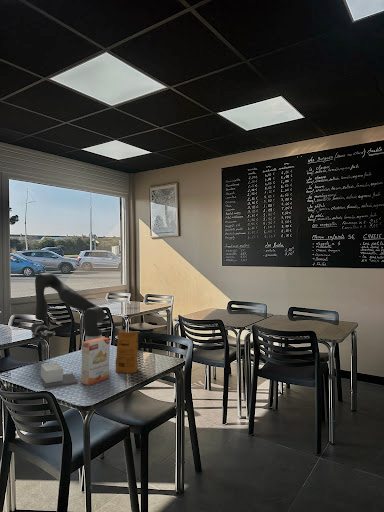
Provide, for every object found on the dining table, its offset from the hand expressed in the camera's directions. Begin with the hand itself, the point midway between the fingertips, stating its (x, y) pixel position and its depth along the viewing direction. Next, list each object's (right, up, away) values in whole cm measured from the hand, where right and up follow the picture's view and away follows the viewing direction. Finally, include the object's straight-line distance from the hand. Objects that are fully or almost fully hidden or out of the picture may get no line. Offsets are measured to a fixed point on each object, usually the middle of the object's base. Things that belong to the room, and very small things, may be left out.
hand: (45, 337), depth 202 cm
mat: (+15, -18, -18) cm, 30 cm away
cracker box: (+33, -19, -17) cm, 41 cm away
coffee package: (+45, -19, 0) cm, 49 cm away
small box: (+7, -14, -12) cm, 19 cm away
